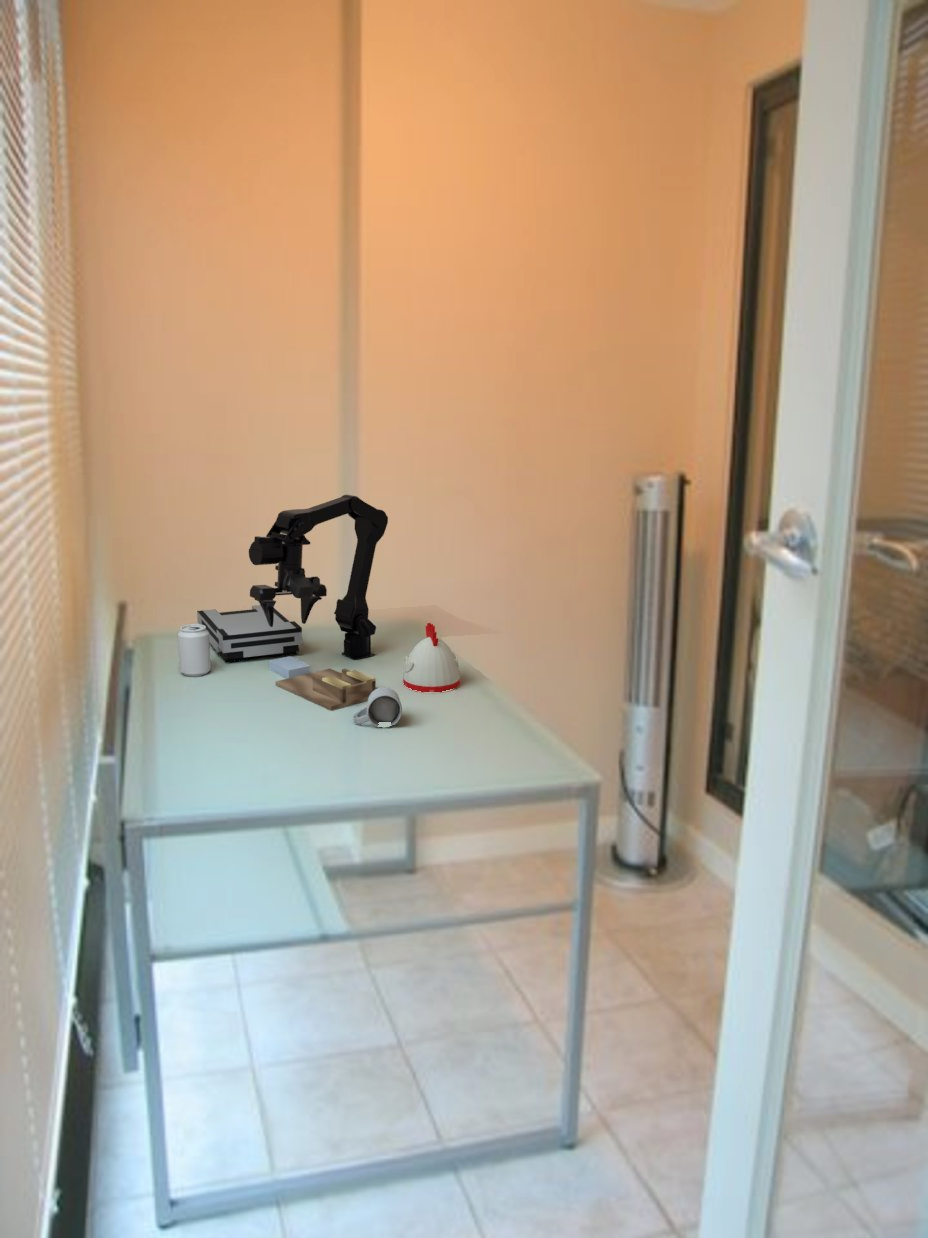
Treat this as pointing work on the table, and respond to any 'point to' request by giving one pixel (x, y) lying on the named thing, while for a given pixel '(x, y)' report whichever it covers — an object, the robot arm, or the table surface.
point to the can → (194, 650)
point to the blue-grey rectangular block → (288, 667)
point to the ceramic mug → (380, 708)
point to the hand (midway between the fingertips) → (287, 625)
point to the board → (331, 687)
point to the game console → (250, 634)
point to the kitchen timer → (431, 665)
